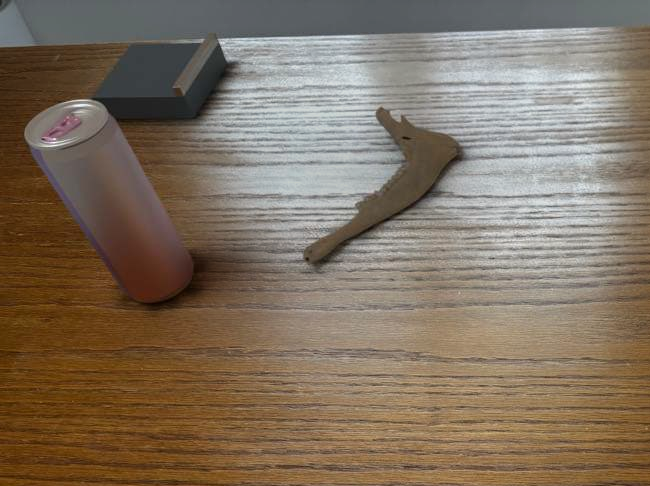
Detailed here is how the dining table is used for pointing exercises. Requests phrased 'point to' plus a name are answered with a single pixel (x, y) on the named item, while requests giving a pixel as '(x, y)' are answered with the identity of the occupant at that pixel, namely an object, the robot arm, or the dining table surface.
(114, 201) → the beverage can
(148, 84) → the grey ledged base
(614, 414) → the dining table surface
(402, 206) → the jawbone
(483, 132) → the dining table surface
